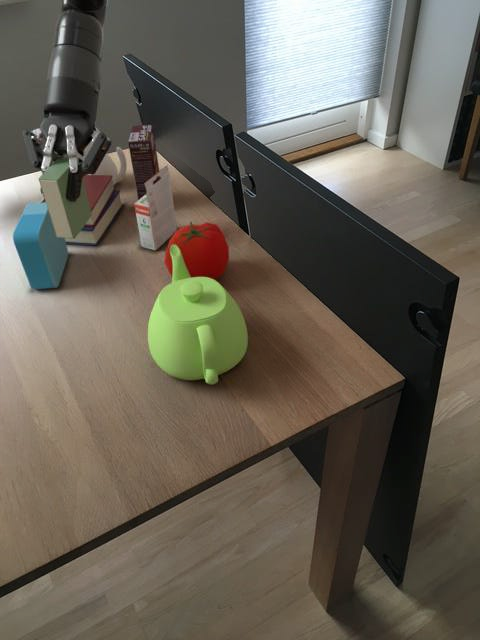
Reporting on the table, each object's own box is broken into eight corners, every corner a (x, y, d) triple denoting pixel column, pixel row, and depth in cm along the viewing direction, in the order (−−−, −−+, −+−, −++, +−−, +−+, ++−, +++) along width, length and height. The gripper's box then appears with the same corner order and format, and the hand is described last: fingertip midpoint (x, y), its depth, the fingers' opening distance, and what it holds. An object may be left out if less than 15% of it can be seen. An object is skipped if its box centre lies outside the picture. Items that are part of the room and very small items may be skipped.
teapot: (140, 314, 91) (126, 250, 82) (224, 295, 94) (220, 232, 85) (164, 412, 75) (150, 346, 67) (266, 386, 78) (265, 319, 69)
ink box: (141, 247, 106) (127, 179, 96) (163, 227, 111) (152, 161, 102) (156, 251, 105) (144, 183, 95) (178, 231, 110) (169, 164, 100)
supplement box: (162, 211, 116) (151, 140, 106) (139, 213, 116) (126, 142, 105) (163, 192, 123) (153, 123, 112) (142, 193, 122) (130, 125, 112)
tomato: (245, 269, 99) (243, 221, 93) (201, 306, 92) (195, 257, 85) (199, 250, 105) (193, 204, 98) (154, 284, 97) (145, 236, 91)
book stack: (40, 242, 109) (29, 210, 104) (72, 202, 121) (63, 172, 116) (96, 246, 107) (88, 214, 102) (123, 205, 119) (117, 175, 114)
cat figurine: (79, 177, 130) (63, 115, 120) (131, 173, 130) (120, 111, 120) (75, 195, 123) (57, 131, 113) (129, 191, 124) (117, 127, 114)
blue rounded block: (46, 254, 106) (28, 200, 98) (69, 253, 106) (52, 198, 98) (32, 292, 97) (10, 236, 89) (57, 291, 97) (38, 234, 89)
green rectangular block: (56, 238, 83) (37, 178, 77) (74, 214, 88) (59, 156, 82) (74, 239, 83) (57, 180, 76) (92, 215, 88) (77, 157, 81)
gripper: (16, 72, 78) (1, 189, 78) (107, 75, 76) (93, 195, 75) (43, 96, 86) (30, 203, 85) (126, 99, 83) (113, 209, 83)
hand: (59, 199), depth 80 cm, fingers closed on green rectangular block, 3 cm apart
